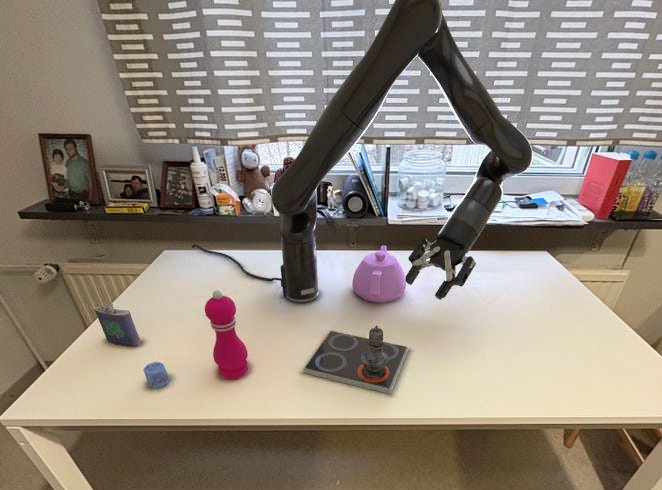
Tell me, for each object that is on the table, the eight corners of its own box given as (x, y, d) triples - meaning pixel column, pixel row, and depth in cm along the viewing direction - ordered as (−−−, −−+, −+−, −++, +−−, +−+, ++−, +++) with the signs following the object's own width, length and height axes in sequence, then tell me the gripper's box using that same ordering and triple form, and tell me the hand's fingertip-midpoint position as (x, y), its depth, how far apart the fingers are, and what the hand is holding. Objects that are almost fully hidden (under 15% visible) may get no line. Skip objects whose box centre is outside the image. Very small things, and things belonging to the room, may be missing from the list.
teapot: (402, 313, 111) (406, 272, 103) (346, 308, 113) (346, 267, 105) (407, 276, 128) (411, 239, 120) (358, 272, 130) (358, 235, 122)
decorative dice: (170, 383, 88) (165, 369, 85) (151, 390, 86) (145, 376, 83) (166, 373, 90) (161, 359, 88) (147, 380, 89) (141, 365, 86)
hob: (303, 373, 91) (303, 367, 90) (330, 334, 103) (330, 329, 102) (390, 394, 86) (390, 388, 85) (408, 351, 98) (408, 345, 97)
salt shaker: (385, 381, 86) (389, 335, 79) (358, 377, 87) (359, 331, 80) (389, 364, 91) (393, 319, 83) (363, 361, 92) (364, 315, 84)
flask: (144, 341, 100) (129, 303, 93) (135, 348, 97) (120, 310, 91) (112, 335, 101) (95, 297, 95) (103, 342, 99) (85, 304, 93)
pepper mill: (221, 384, 88) (201, 303, 75) (214, 365, 93) (193, 287, 80) (254, 374, 90) (240, 295, 78) (245, 356, 95) (230, 279, 83)
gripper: (432, 208, 89) (391, 271, 90) (487, 226, 81) (442, 296, 82) (443, 226, 95) (405, 285, 96) (496, 245, 87) (454, 309, 88)
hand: (422, 290), depth 89 cm, fingers open, 8 cm apart
